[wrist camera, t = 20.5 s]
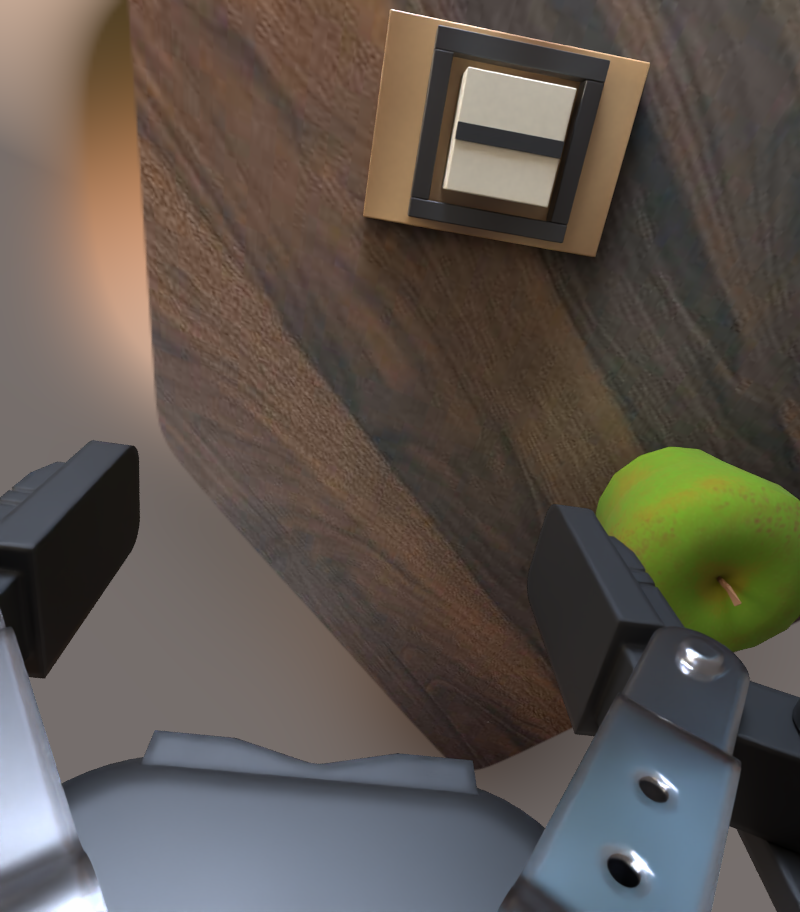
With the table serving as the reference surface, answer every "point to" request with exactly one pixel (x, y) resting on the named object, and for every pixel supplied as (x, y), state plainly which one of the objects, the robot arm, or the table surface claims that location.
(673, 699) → the robot arm
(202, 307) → the table surface
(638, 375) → the table surface
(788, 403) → the table surface
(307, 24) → the table surface
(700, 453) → the apple
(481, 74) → the ivory pad
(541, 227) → the base pad
